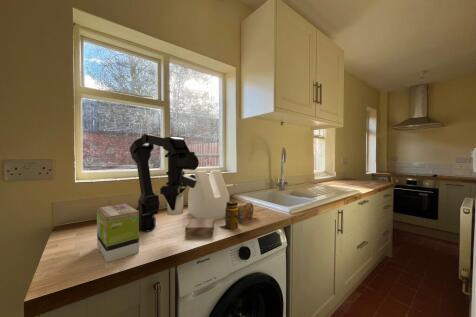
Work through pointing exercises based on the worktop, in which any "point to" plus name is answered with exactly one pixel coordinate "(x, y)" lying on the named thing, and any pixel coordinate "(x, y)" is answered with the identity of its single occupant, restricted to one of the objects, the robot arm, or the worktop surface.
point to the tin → (245, 212)
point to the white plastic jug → (208, 196)
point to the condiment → (231, 217)
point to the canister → (176, 206)
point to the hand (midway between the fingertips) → (175, 208)
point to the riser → (199, 228)
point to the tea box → (117, 231)
